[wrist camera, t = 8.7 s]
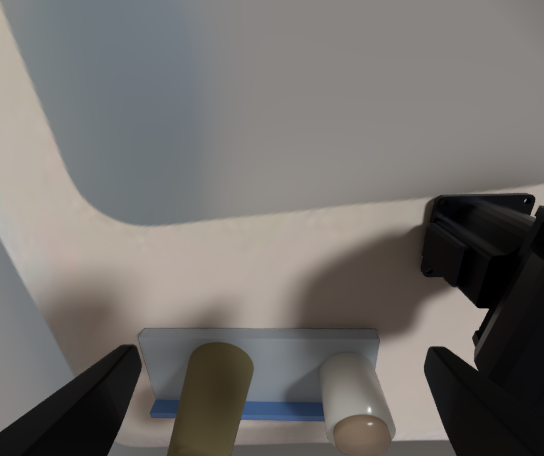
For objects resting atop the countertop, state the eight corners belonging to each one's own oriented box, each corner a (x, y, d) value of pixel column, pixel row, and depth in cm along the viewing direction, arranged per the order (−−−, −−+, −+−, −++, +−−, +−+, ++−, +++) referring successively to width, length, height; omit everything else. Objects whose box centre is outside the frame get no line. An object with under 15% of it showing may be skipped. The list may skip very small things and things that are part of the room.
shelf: (375, 329, 24) (385, 351, 22) (366, 396, 28) (373, 422, 25) (144, 328, 25) (130, 349, 23) (162, 393, 29) (151, 417, 26)
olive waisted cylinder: (241, 335, 24) (208, 503, 13) (262, 383, 26) (248, 559, 16) (177, 349, 25) (102, 515, 14) (203, 394, 27) (154, 566, 17)
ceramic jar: (377, 352, 24) (403, 419, 19) (371, 392, 26) (393, 462, 20) (319, 352, 24) (329, 417, 19) (317, 391, 26) (326, 461, 21)
